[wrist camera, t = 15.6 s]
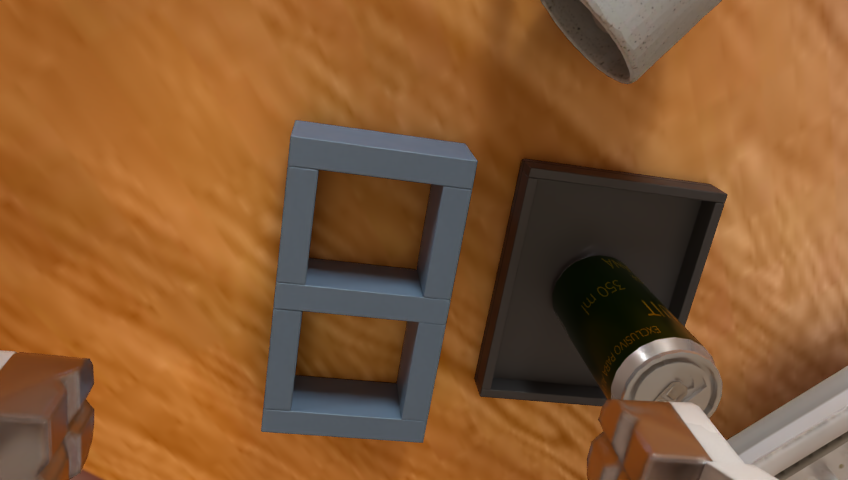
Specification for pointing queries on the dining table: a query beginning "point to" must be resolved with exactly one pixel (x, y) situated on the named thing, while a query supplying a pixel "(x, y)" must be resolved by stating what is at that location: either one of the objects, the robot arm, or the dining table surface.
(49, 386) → the robot arm
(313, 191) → the frame
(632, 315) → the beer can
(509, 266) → the tray
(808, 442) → the dish rack
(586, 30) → the ceramic mug
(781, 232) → the dining table surface
